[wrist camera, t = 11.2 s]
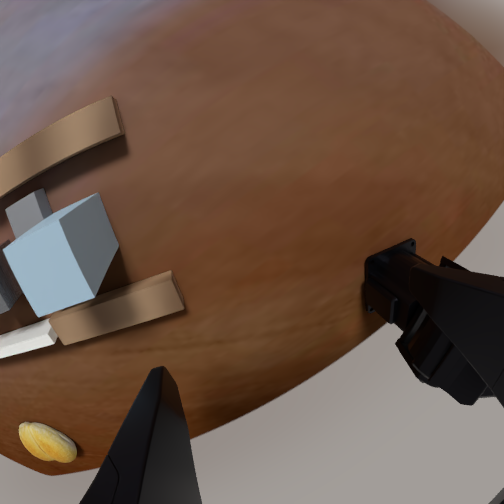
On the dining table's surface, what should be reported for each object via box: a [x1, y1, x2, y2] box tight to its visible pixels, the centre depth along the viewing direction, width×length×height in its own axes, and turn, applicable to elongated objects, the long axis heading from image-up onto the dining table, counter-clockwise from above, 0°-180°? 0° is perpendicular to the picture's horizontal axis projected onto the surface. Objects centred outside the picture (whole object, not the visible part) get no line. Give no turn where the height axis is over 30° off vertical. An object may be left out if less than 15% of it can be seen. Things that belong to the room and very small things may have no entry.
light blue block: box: [3, 188, 119, 317], centre depth 13 cm, size 7×8×7 cm
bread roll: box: [19, 422, 77, 463], centre depth 21 cm, size 8×9×4 cm
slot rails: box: [0, 96, 184, 345], centre depth 15 cm, size 11×15×2 cm
